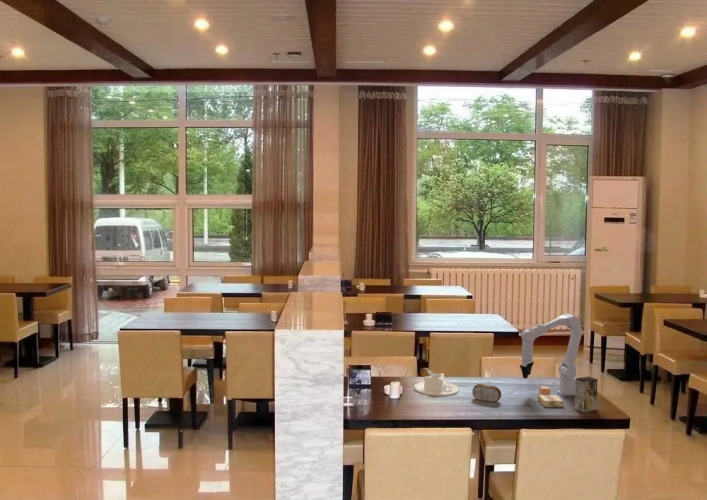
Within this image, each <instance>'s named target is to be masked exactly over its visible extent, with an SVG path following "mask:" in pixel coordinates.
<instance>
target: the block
mask: <svg viewBox="0 0 707 500" xmlns="http://www.w3.org/2000/svg"><path fill="white" fill-rule="evenodd" d="M538 393H539V394H538V395H551V388H550V387H549V386H543V385H539V389H538Z"/></svg>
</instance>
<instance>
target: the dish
mask: <svg viewBox="0 0 707 500" xmlns="http://www.w3.org/2000/svg"><path fill="white" fill-rule="evenodd" d="M427 372H428V374H429V375H427V376H424V381H422V382H417V383H416V384H414V385H413V386H414V387H413V388H414V391H416V392H417V393H419V394H423V395H426V396H433V397H450V396H454V395H456V394H458V393H459V392H460V388H459V386H458V385H456V384H453V383H450V382H447V381H446V380H445V379H444V376H445V375H444V372H443V373H438V372H437V373H436V372H433V371H432V370H430V369H427Z"/></svg>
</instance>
